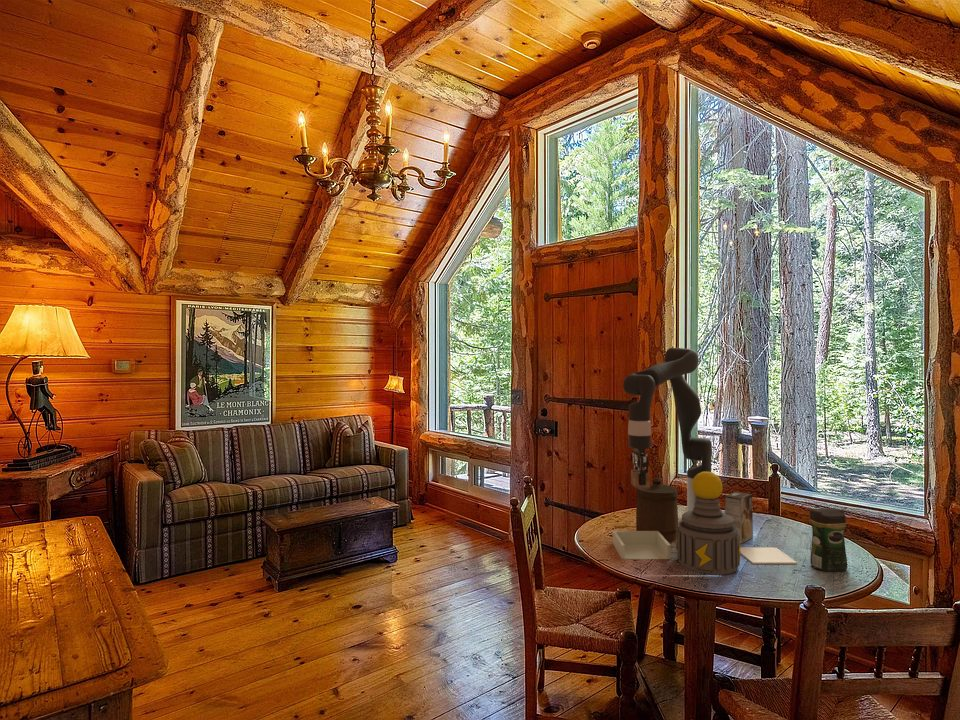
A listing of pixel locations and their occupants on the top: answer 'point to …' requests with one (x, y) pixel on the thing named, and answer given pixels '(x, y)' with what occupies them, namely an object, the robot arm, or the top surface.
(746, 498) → the coffee box
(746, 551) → the mat
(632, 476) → the walnut block
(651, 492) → the wooden container
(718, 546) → the decorative lamp
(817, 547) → the coffee jar
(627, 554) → the open box
